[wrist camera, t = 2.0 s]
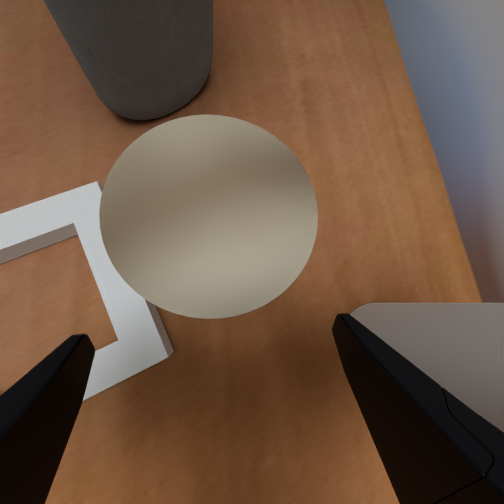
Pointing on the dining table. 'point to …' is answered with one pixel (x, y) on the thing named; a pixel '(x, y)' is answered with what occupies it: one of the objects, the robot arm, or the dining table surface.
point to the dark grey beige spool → (208, 216)
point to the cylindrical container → (449, 347)
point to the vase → (140, 50)
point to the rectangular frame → (107, 278)
